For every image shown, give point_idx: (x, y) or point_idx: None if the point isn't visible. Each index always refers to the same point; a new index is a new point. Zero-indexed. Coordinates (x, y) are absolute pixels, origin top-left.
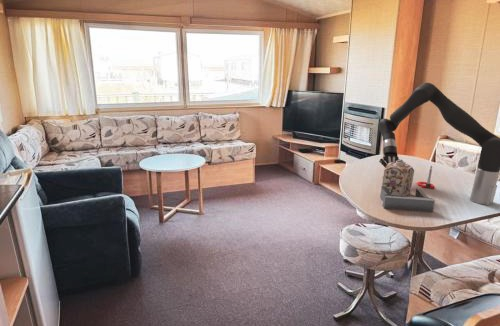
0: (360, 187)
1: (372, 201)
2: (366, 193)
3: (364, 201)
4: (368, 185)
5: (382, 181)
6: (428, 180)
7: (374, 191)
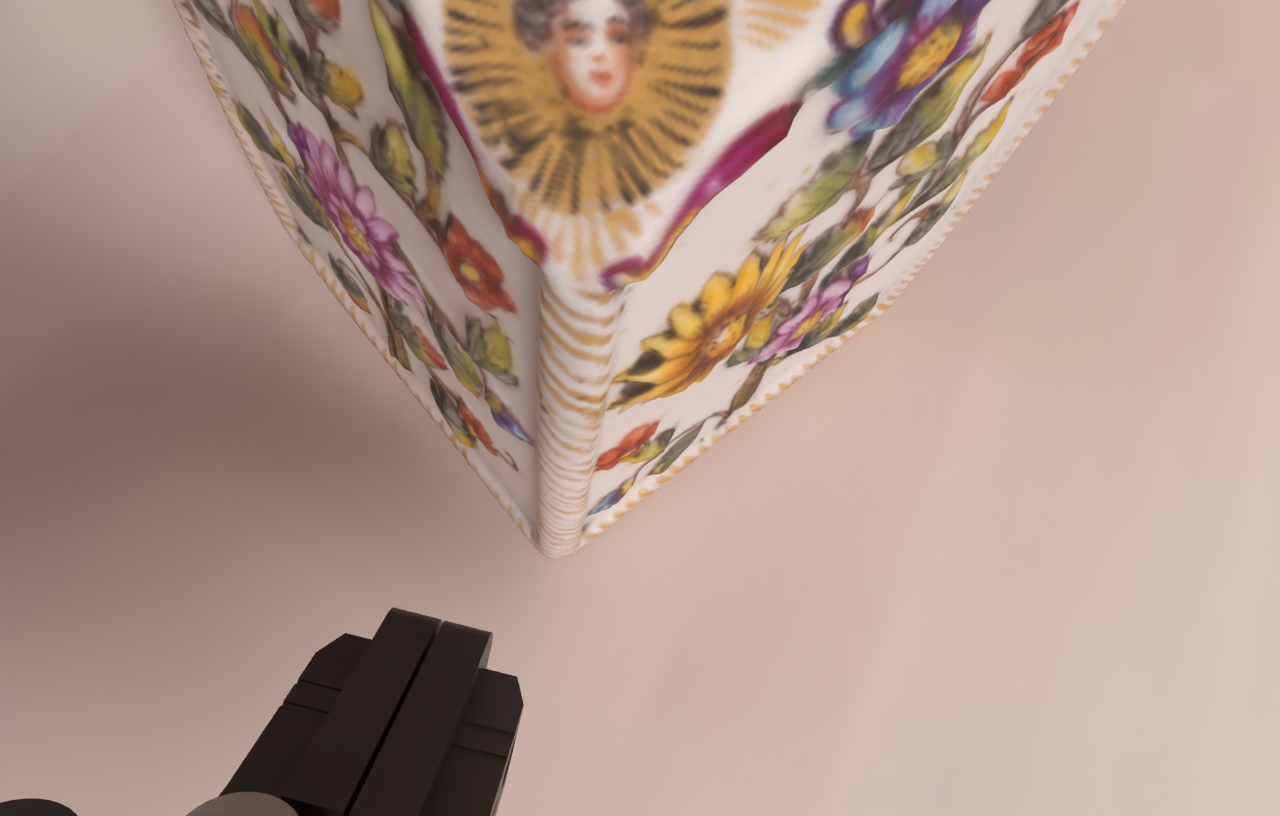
0: (1236, 628)
1: (1139, 19)
2: (1169, 306)
3: (1258, 31)
4: (1022, 760)
5: (1001, 162)
6: None
7: (989, 387)
